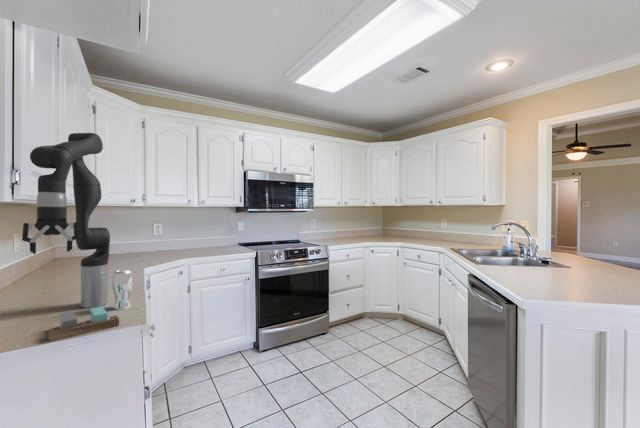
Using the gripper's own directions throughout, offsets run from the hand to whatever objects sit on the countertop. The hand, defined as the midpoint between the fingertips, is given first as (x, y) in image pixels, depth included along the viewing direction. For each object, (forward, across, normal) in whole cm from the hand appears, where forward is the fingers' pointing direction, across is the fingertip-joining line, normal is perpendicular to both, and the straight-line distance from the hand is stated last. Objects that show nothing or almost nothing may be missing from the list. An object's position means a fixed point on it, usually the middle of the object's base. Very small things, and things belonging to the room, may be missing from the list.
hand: (51, 252), depth 98 cm
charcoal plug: (+26, +4, -7) cm, 28 cm away
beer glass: (+26, +22, +8) cm, 35 cm away
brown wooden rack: (+26, +8, -12) cm, 30 cm away
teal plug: (+26, +12, -7) cm, 30 cm away
